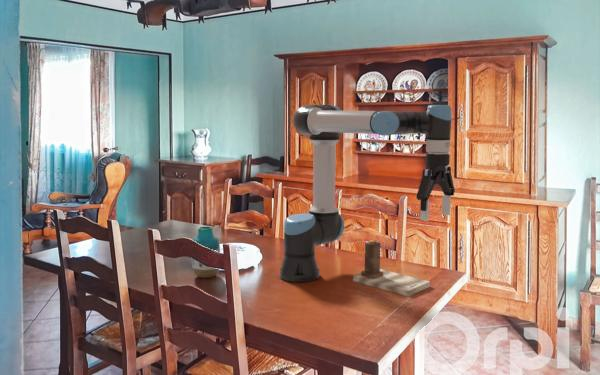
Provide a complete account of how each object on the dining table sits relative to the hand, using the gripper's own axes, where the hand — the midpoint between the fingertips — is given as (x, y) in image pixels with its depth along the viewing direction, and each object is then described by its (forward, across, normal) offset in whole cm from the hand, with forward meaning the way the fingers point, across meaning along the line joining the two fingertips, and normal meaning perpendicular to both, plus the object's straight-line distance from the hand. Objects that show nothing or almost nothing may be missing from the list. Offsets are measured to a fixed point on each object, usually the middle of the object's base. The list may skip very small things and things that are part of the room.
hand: (435, 217), depth 178 cm
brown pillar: (+26, +2, +26) cm, 37 cm away
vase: (+28, -38, +74) cm, 88 cm away
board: (+28, +4, +19) cm, 34 cm away
